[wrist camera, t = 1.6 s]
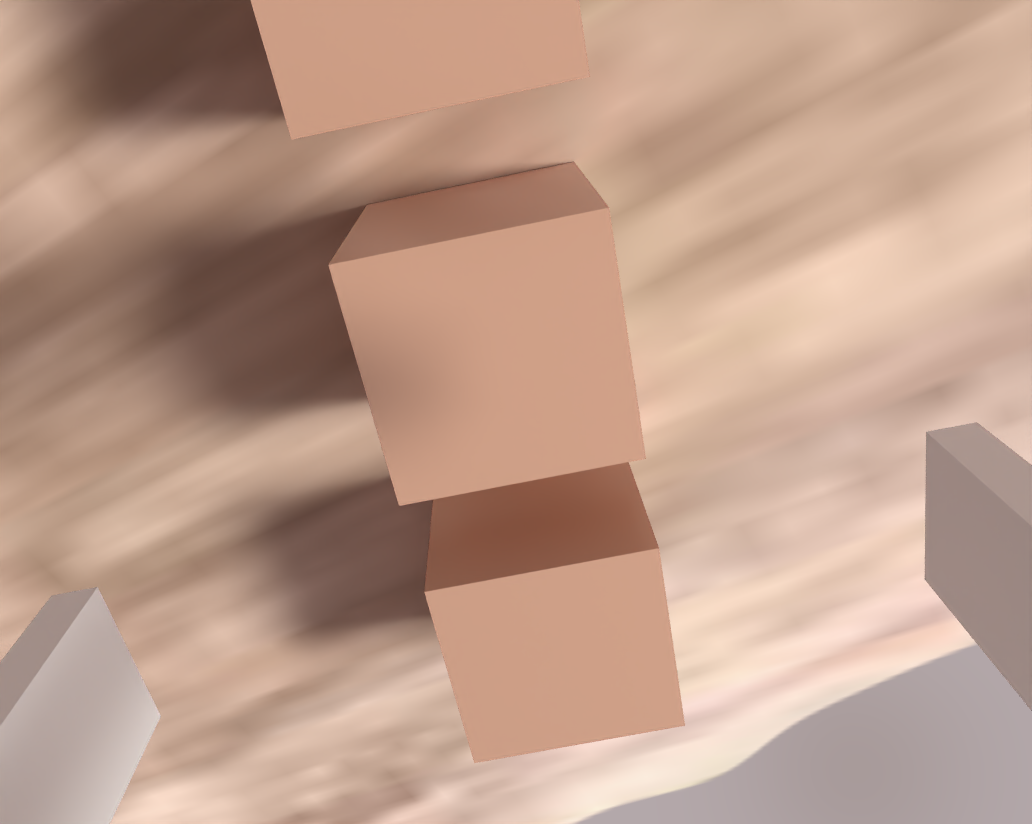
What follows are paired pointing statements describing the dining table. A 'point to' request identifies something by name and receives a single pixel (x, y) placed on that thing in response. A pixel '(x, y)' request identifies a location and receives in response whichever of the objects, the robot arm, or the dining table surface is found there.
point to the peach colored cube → (411, 55)
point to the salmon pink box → (552, 613)
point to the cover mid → (491, 333)
